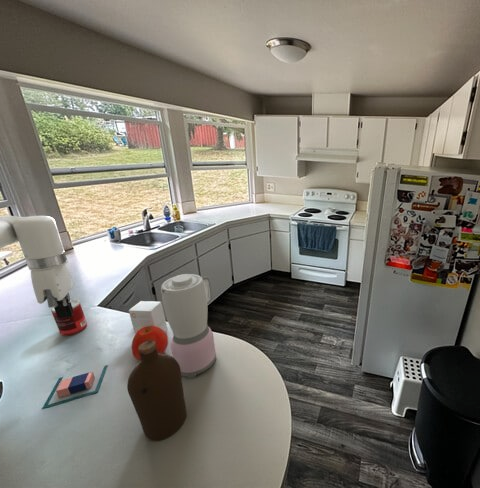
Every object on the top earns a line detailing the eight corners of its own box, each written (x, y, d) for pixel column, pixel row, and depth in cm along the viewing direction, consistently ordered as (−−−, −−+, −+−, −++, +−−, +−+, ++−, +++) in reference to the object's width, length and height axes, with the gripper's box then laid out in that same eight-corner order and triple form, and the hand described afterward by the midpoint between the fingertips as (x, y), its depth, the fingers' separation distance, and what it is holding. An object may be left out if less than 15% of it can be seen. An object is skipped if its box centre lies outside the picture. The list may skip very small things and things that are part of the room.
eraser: (58, 398, 70) (55, 391, 69) (64, 386, 73) (61, 379, 73) (91, 388, 73) (88, 381, 72) (95, 377, 77) (92, 371, 76)
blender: (195, 384, 76) (177, 292, 65) (166, 371, 80) (145, 283, 69) (231, 349, 90) (222, 269, 79) (205, 340, 94) (193, 262, 83)
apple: (172, 340, 93) (167, 317, 89) (165, 361, 84) (159, 335, 80) (140, 346, 90) (133, 321, 86) (129, 368, 80) (121, 342, 77)
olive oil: (194, 423, 65) (179, 346, 56) (146, 454, 58) (120, 372, 50) (182, 395, 72) (167, 324, 64) (138, 420, 65) (114, 343, 57)
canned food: (84, 320, 102) (76, 297, 98) (90, 328, 97) (82, 304, 94) (58, 330, 96) (48, 305, 92) (63, 339, 91) (53, 313, 88)
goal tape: (42, 409, 67) (41, 408, 67) (59, 378, 76) (59, 378, 76) (97, 392, 72) (97, 391, 72) (107, 365, 81) (107, 365, 81)
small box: (168, 329, 98) (161, 301, 94) (157, 341, 92) (150, 311, 88) (147, 329, 98) (140, 300, 94) (135, 340, 92) (127, 310, 88)
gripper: (42, 252, 74) (60, 305, 80) (12, 273, 62) (36, 334, 68) (75, 249, 78) (90, 300, 84) (53, 269, 65) (73, 327, 71)
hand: (66, 315), depth 76 cm, fingers closed
